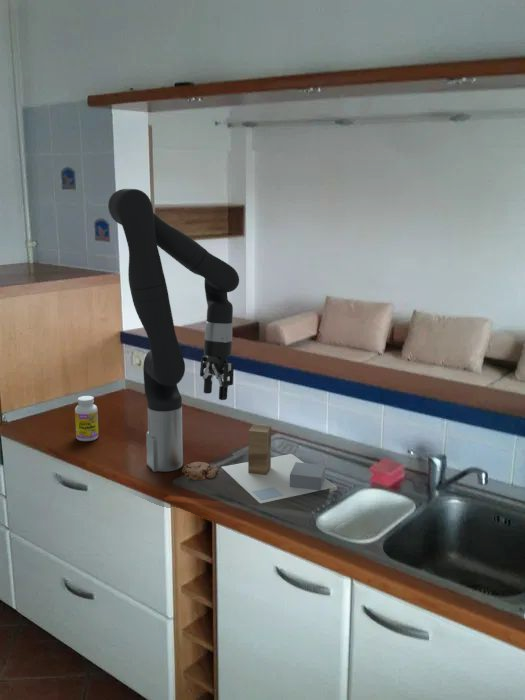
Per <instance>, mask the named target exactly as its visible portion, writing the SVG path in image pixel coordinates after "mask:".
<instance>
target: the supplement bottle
mask: <svg viewBox="0 0 525 700" xmlns="http://www.w3.org/2000/svg"><path fill="white" fill-rule="evenodd" d="M94 399H95V397H94V396H91V395H82V396H79V397H78V398H77V403H78V404H77V405H76V407H75V408H74V419H75V420H74V421H75V437H76V439H77V440H78V441H81V442H92V441H95V440H96V439H98V437H99V419H98V418H99V416H98V415H99V414H98V413H99V411H98V406H97V405H96V404H94V402H95V400H94Z"/></svg>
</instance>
